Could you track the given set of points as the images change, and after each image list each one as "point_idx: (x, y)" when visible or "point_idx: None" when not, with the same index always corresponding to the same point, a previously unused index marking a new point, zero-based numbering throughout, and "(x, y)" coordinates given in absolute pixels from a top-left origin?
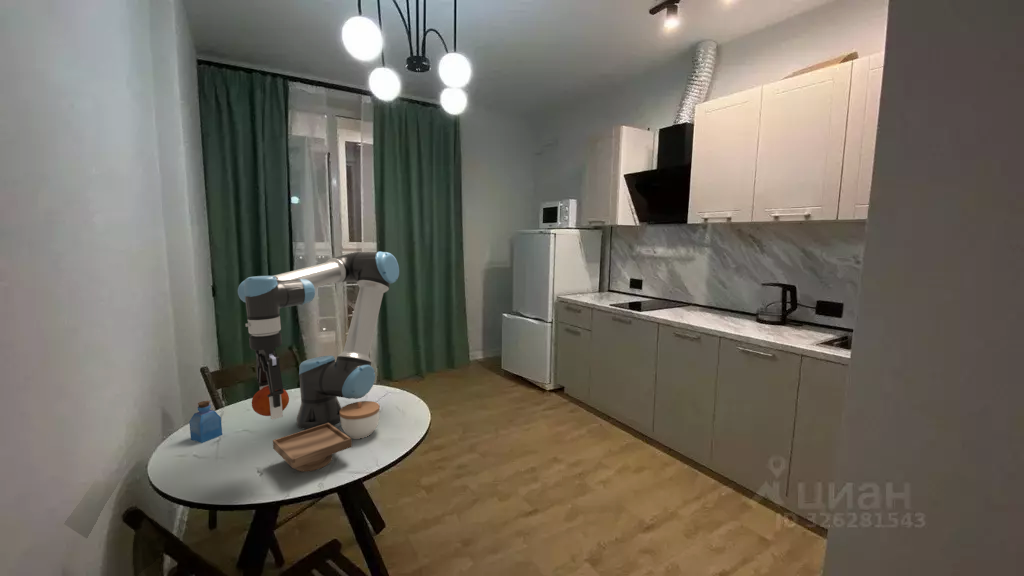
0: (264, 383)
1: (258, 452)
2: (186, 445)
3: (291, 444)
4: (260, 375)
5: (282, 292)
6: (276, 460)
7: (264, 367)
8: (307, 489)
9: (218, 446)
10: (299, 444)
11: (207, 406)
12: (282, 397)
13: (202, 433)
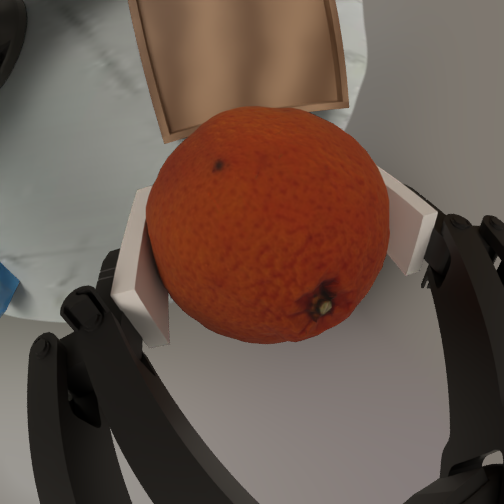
0: (134, 344)
1: (85, 171)
2: (26, 299)
3: (211, 87)
4: (205, 446)
5: None
6: (155, 123)
7: (476, 466)
8: (351, 82)
9: (34, 254)
10: (228, 64)
11: None
12: (382, 178)
13: (11, 293)
